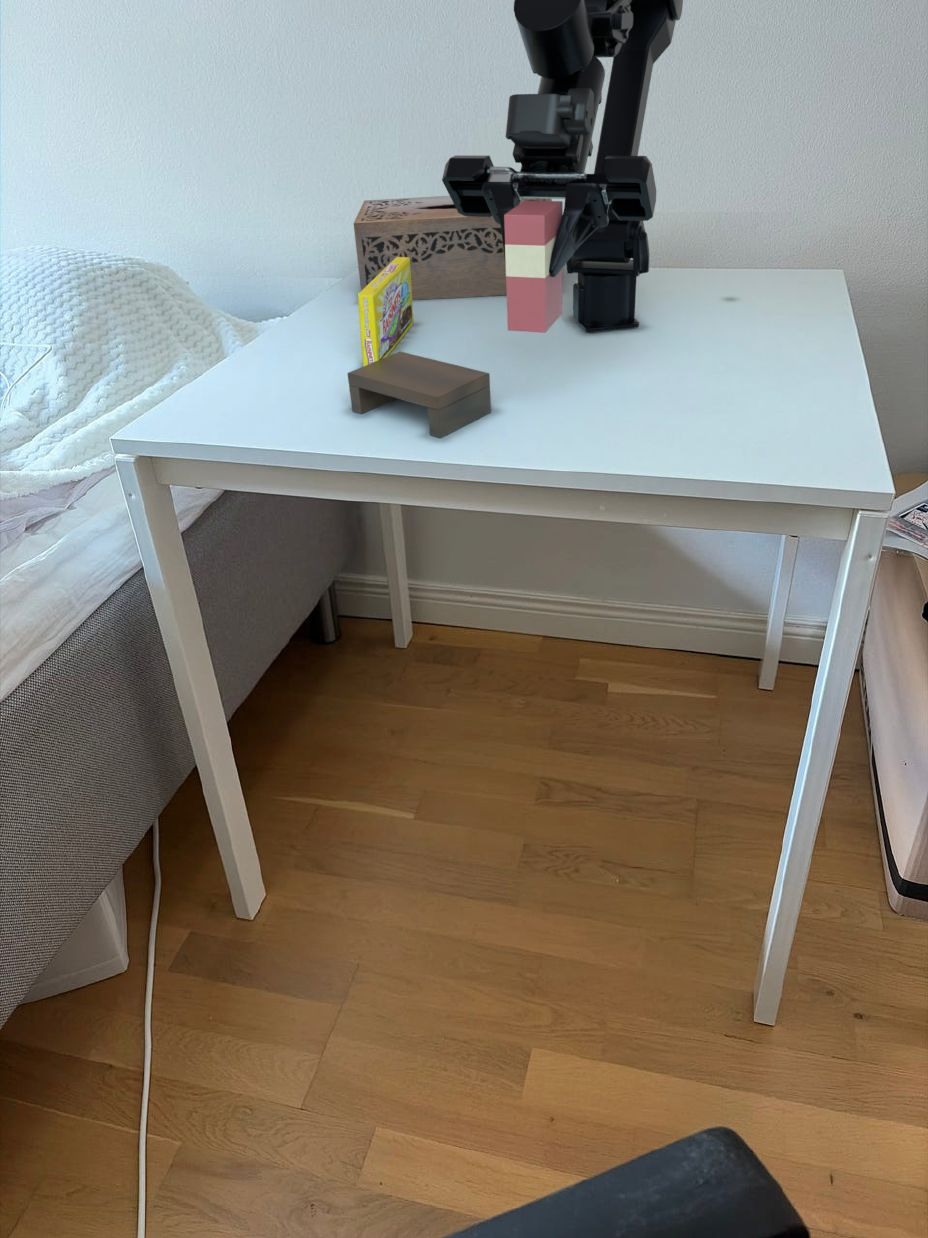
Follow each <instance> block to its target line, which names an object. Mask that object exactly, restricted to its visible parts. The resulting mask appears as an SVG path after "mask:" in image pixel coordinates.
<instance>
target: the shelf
mask: <svg viewBox="0 0 928 1238" xmlns="http://www.w3.org/2000/svg"><path fill="white" fill-rule="evenodd" d="M490 376H491V375H490V372H486V371H482V370H478V369H473V368H471V367H465V366H462V365H457V364H453V363H449V362H446V361H442V360H438V359H437V360H436V359H433V358H429V357H425V356H421V355H418V354H417V355H416V354H412V353H409V352H404V351H397V352H395V353H392V354H389V355H388V356H387V357H385V358H383V359H380V360H378V361H375V362H373V363H371V364H368V365H366V366H363V365H362V366H361V367H359V368H356V369H354V370H351V371H348V372H347V381H348V388H349V389H348V390H349V396H350V404H351V411H352V412H353V413H357V414H360V415H363V414H365V413H367V412H370V411H372V410H373V409H376V408H378V407H380V406H382V405H385V404H388V403H389V402H392V401H394V400H396V399H398V400H402V401H405V402H408V403H412V404H416V405H420V406H422V407H423V406H424V407H427V415H428V416H427V419H428V426H429V427H428V429H429V436H432V437H435V438H439V439H442V438H444V437H446V436H448V435H450V434H452V433H453V432H456V431H458V430H459V429H461V428H463V427H465V426H467V425H469V424H471V423H473V422H475V421H477V420H479V419H481V418H483V417H485V416H487V415H489V414H491V413H492V404H491V400H492V399H491V378H490Z"/></svg>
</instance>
